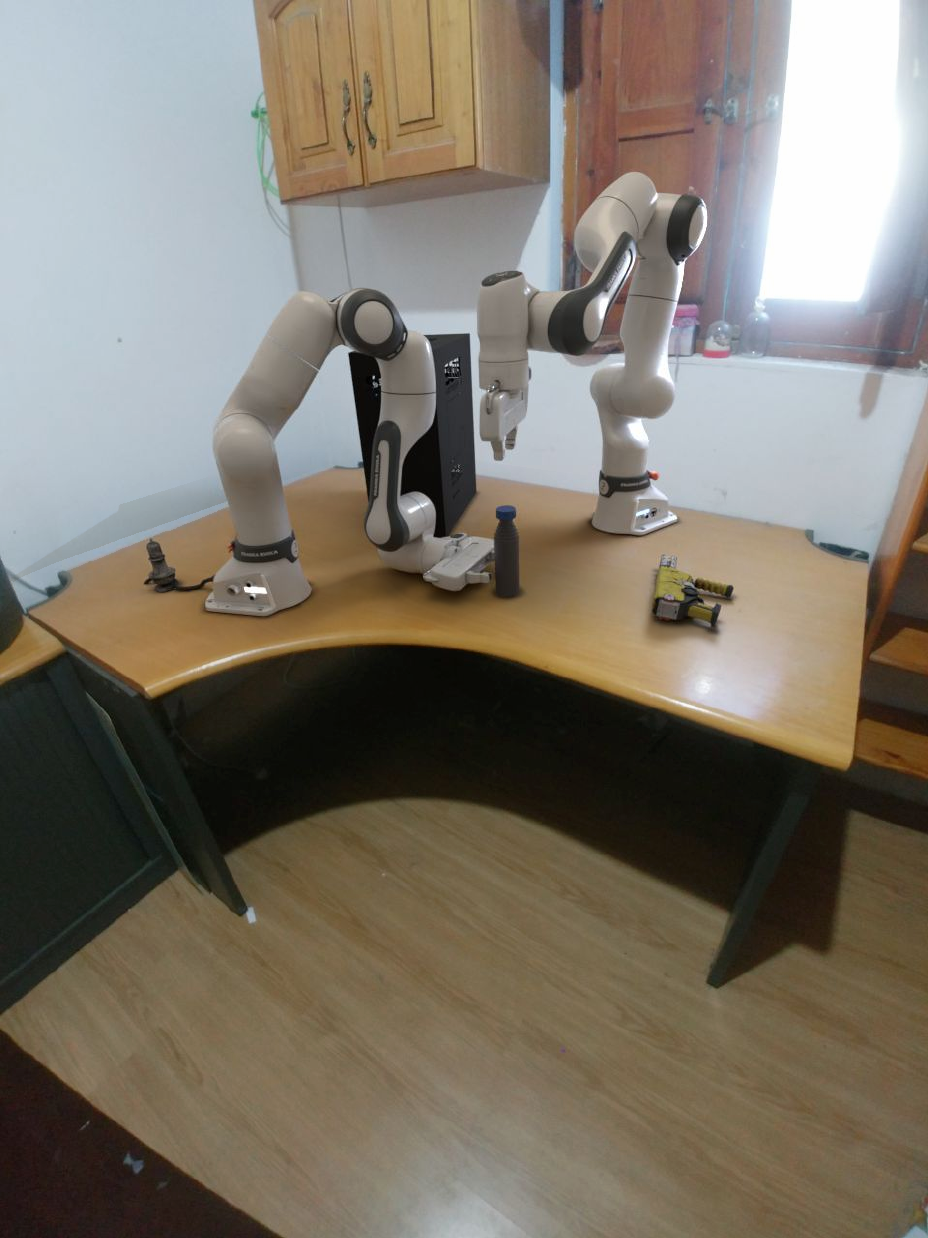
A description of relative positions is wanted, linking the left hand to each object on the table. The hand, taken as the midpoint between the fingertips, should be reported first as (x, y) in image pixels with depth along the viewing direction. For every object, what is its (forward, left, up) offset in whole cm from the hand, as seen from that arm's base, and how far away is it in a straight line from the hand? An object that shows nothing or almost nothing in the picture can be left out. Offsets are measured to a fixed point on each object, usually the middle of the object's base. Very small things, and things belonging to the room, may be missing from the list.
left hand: (499, 569), depth 128 cm
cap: (+2, -1, +13) cm, 14 cm away
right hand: (+1, -1, +24) cm, 25 cm away
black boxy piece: (-21, +50, -5) cm, 54 cm away
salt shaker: (-78, +4, -5) cm, 78 cm away
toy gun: (+39, -5, -5) cm, 40 cm away
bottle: (+1, -1, -5) cm, 5 cm away
